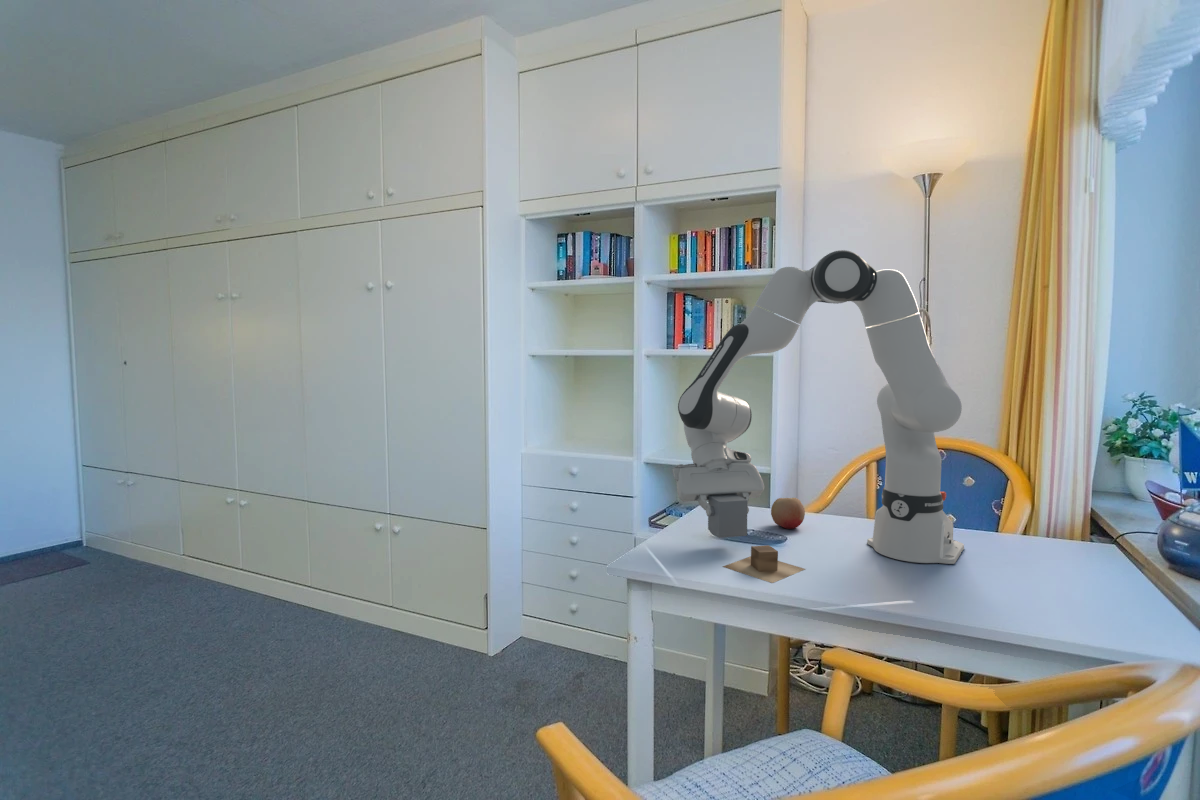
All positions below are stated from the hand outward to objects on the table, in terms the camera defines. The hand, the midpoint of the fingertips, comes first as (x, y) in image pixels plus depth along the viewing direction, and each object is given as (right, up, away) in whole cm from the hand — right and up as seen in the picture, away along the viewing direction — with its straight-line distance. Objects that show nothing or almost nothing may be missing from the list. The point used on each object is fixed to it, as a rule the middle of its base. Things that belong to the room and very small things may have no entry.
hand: (728, 514), depth 140 cm
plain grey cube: (0, -4, +1) cm, 4 cm away
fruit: (+19, -7, +20) cm, 29 cm away
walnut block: (+5, -9, -11) cm, 15 cm away
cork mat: (+5, -9, -11) cm, 15 cm away
